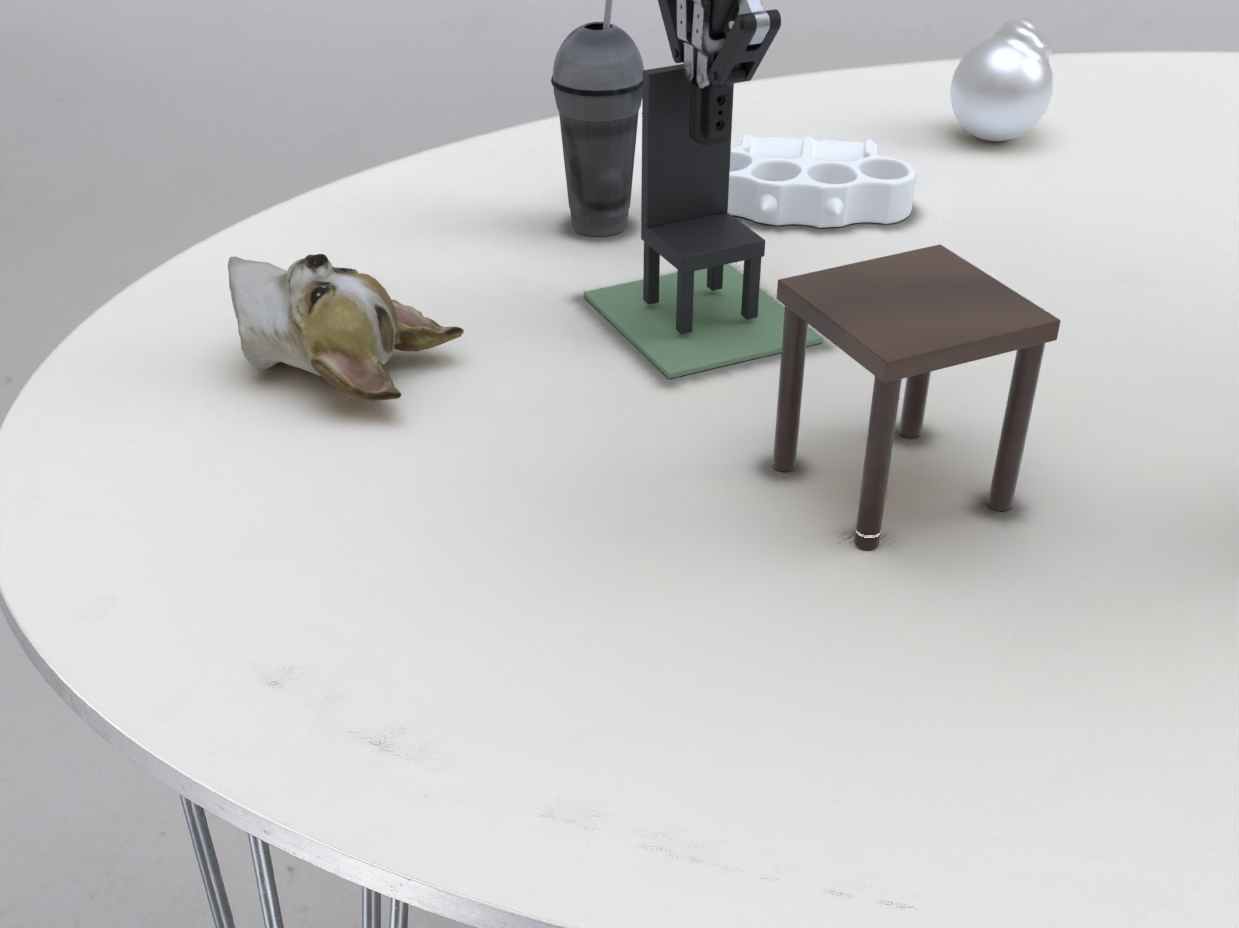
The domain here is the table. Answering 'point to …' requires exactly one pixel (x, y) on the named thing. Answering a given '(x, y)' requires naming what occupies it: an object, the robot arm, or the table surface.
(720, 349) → the mat
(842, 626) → the table surface
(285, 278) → the ceramic sculpture
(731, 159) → the white brass knuckles
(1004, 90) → the white spiral shell
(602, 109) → the beverage cup
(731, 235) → the chair
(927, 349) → the side table
